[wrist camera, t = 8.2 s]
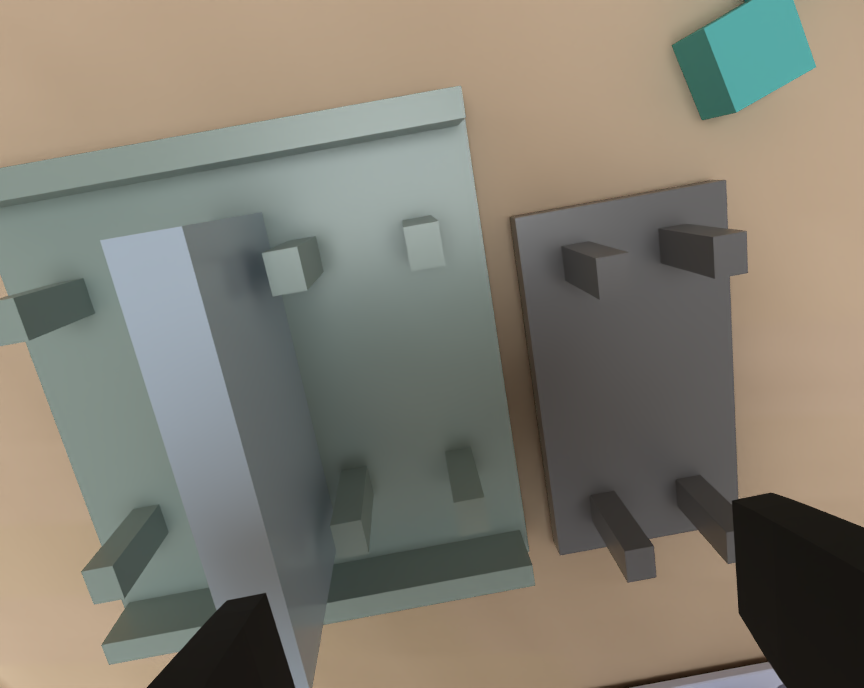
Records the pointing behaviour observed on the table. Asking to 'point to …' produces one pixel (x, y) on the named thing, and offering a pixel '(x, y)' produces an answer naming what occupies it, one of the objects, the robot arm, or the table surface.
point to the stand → (634, 368)
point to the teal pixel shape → (744, 56)
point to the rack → (313, 342)
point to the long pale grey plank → (233, 417)
